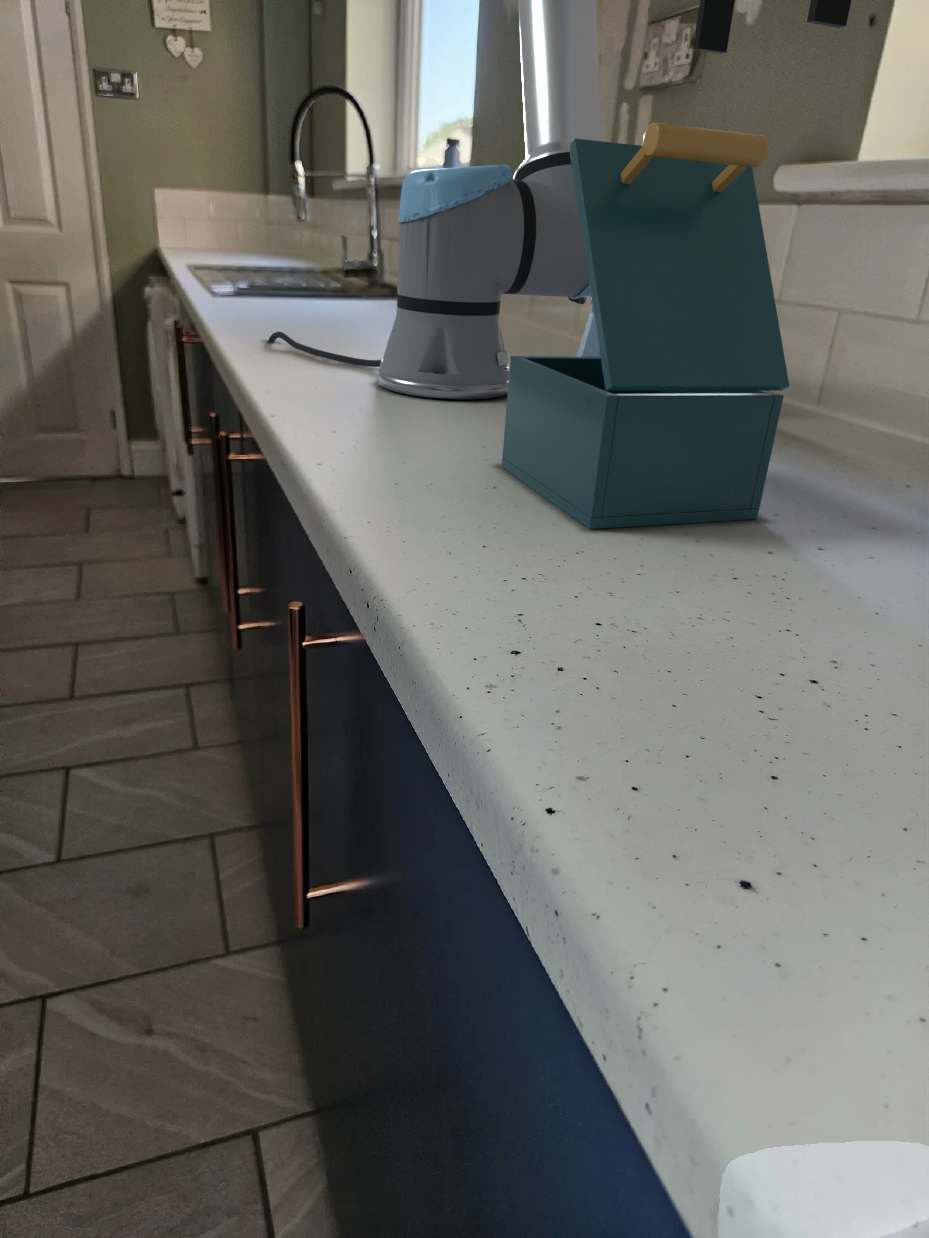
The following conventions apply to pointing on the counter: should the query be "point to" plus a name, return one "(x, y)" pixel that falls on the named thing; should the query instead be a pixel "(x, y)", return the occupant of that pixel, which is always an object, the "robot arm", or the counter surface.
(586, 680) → the counter surface
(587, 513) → the storage box
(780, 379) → the box lid
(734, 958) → the counter surface
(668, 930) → the counter surface
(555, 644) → the counter surface
